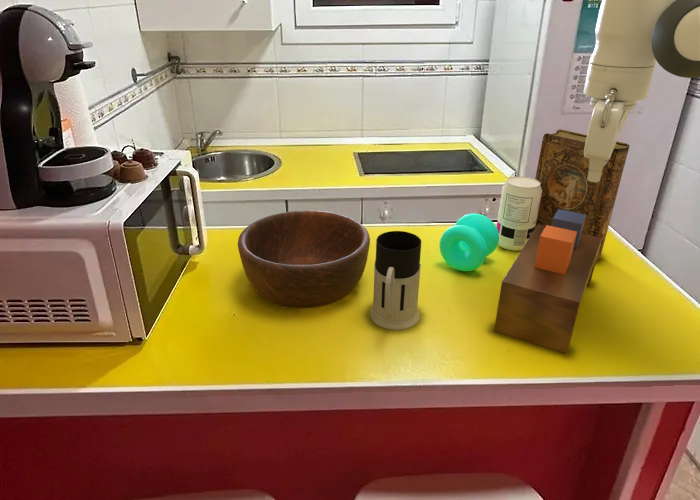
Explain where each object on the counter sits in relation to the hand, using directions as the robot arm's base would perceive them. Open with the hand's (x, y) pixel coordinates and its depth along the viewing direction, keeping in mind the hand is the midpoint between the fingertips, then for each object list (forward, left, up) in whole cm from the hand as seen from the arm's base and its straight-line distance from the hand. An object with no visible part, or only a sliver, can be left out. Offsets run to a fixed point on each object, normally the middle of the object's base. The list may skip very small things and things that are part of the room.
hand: (597, 172), depth 84 cm
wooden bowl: (+46, +18, -26) cm, 56 cm away
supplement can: (+15, -20, -26) cm, 36 cm away
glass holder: (+25, +22, -26) cm, 42 cm away
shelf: (+3, +2, -26) cm, 26 cm away
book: (+5, -25, -26) cm, 36 cm away
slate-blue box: (+3, -6, -16) cm, 17 cm away
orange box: (+3, +5, -16) cm, 17 cm away
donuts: (+21, -6, -26) cm, 34 cm away
